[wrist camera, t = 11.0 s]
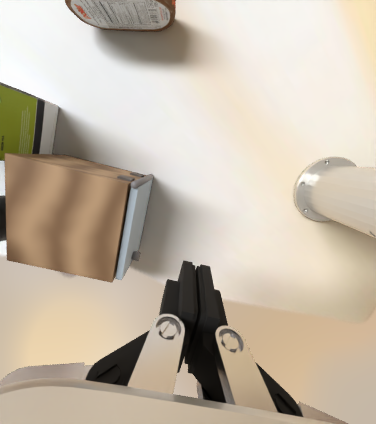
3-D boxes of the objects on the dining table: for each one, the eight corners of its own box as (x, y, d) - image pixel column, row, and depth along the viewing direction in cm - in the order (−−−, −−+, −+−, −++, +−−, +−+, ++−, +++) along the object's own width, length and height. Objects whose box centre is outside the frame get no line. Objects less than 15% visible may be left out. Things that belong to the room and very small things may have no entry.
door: (159, 176, 36) (147, 184, 25) (144, 249, 41) (128, 283, 30) (148, 173, 36) (131, 180, 25) (134, 246, 40) (114, 280, 29)
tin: (177, 13, 29) (173, -42, 21) (177, 37, 30) (173, -7, 22) (82, 9, 29) (42, -47, 21) (85, 34, 30) (47, -12, 22)
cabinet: (147, 174, 36) (128, 181, 25) (133, 247, 41) (111, 282, 29) (64, 153, 35) (4, 150, 24) (59, 230, 40) (7, 260, 28)
